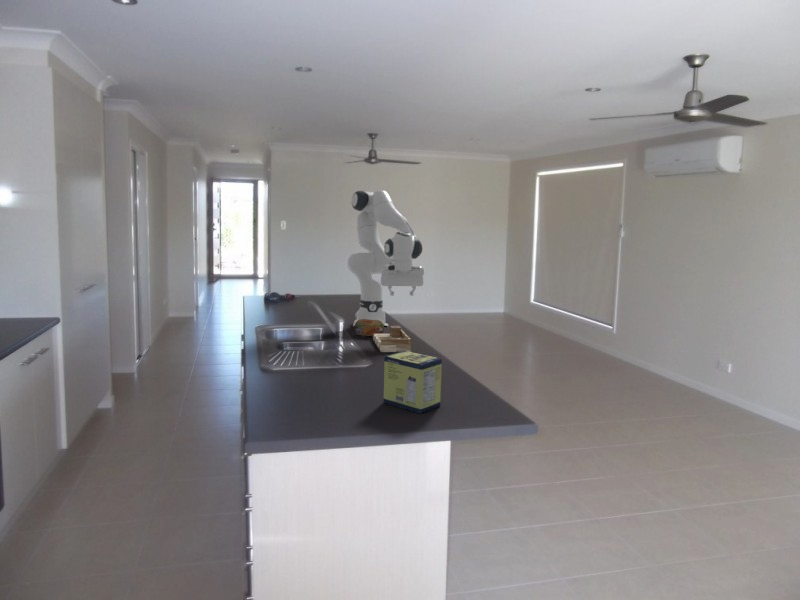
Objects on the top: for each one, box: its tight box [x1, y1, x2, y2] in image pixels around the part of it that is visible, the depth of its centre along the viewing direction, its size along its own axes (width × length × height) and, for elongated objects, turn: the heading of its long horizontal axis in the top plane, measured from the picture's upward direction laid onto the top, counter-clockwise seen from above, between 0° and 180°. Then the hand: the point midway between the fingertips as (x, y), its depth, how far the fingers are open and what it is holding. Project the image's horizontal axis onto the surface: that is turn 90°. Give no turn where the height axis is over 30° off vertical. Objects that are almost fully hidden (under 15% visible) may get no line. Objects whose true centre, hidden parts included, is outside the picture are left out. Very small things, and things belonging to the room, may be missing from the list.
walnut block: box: [389, 325, 402, 337], centre depth 273 cm, size 4×4×4 cm
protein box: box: [383, 351, 443, 414], centre depth 185 cm, size 10×16×16 cm
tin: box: [353, 319, 386, 338], centre depth 285 cm, size 15×3×8 cm, turn 73°
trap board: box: [372, 328, 412, 353], centre depth 266 cm, size 24×13×6 cm, turn 11°
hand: (401, 295), depth 279 cm, fingers open, 8 cm apart
